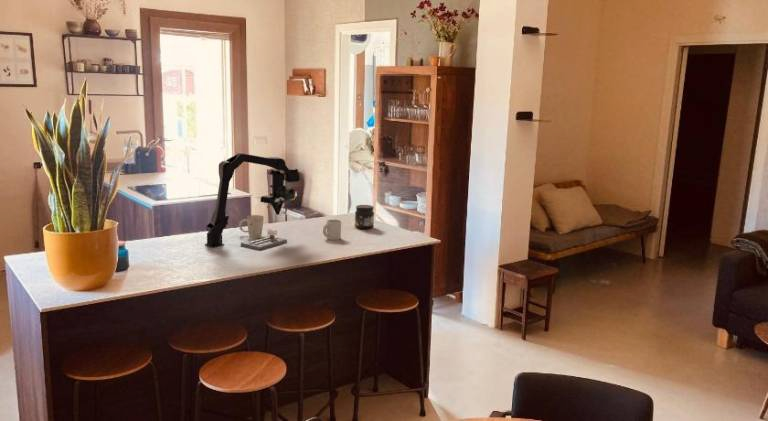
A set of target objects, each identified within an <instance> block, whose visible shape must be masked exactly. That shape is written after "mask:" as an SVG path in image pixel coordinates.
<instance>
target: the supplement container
mask: <svg viewBox="0 0 768 421" xmlns="http://www.w3.org/2000/svg"><path fill="white" fill-rule="evenodd" d="M374 220H375V212H374V206H373V205H371V204H358V205H356V207H355V212H354V227H355V228H356V229H358V230H366V231H367V230H368V231H369V230H371V229H373V228H374V227H375V226H374V223H375V221H374Z"/></svg>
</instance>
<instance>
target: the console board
mask: <svg viewBox="0 0 768 421" xmlns="http://www.w3.org/2000/svg"><path fill="white" fill-rule="evenodd" d="M286 243H288V239H287V238H283V237H278V236H275V238H273V239H270V235H268V234H267V235H264V236H261V237H257V238H254V239H250V240H245V241H242V242H240V246H241V247H243V248H249V249H252V250H258V251H261V250H264V249H269V248H272V247H275V246H279V245H282V244H286Z"/></svg>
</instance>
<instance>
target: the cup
mask: <svg viewBox="0 0 768 421" xmlns="http://www.w3.org/2000/svg"><path fill="white" fill-rule="evenodd" d="M322 233H323V236H324V237H326V239H327V240H331V241H337V240H341V237H342V221H341V220H340V219H327V220H326V224H324V226H323V228H322Z"/></svg>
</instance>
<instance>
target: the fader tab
mask: <svg viewBox="0 0 768 421" xmlns="http://www.w3.org/2000/svg"><path fill="white" fill-rule="evenodd" d="M268 235H269V236H270V239H273V238H275V237H276V236H277V235H278V230H277V229H273V228H267V236H268Z"/></svg>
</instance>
